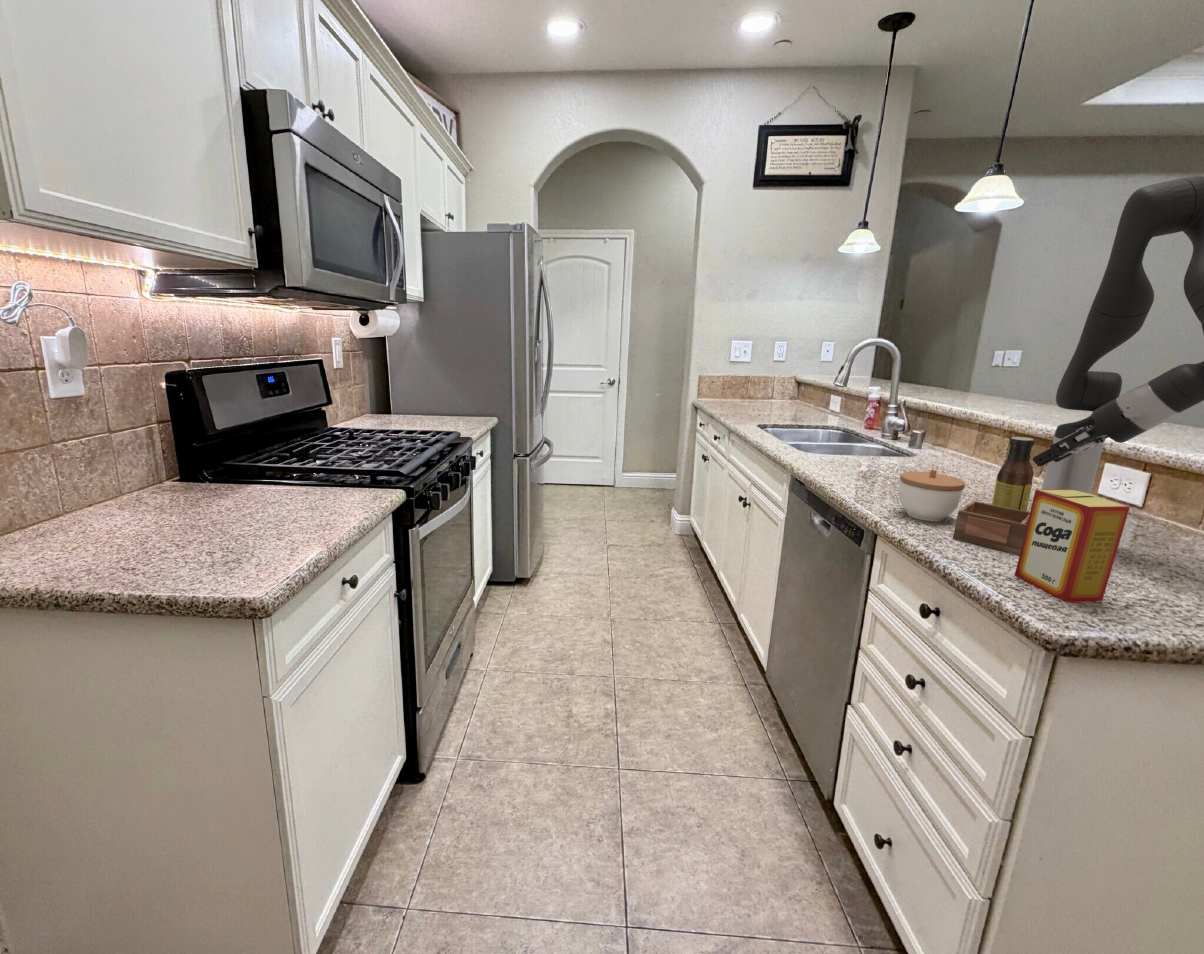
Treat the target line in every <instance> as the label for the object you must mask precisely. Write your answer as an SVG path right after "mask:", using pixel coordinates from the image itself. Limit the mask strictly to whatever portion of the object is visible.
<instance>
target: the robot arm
mask: <svg viewBox="0 0 1204 954" xmlns="http://www.w3.org/2000/svg"><path fill="white" fill-rule="evenodd" d="M1122 209H1123V210H1122V212H1121V215H1120V218H1119V221H1118V225H1117V227H1116V233H1115V237H1114V241H1113V243H1112V248H1111V251H1110V255H1109V258H1108V262H1107V265H1106V268H1105V271H1104V273H1103V276H1102V279H1101V281H1100V285H1099V287H1098V289H1097V291H1096V294H1095V296H1094V299H1093V301H1092V304H1091V306H1090V309H1089V311H1088V313H1087V318H1086V320H1085V322H1084V323H1085V324H1084V325H1083V330H1082V332H1081V334H1080V337H1079V341H1078V344H1077V346H1076V348H1075V351H1074V353H1073V355H1072V356H1071V359H1070V361H1069V362H1068V366H1067V368H1066V369H1065V371H1064V374H1063V376H1062V378H1061V379H1060V382H1059V384H1058V387H1057V391H1056V394H1055V401H1056V405H1057V406H1058V408H1061V409H1065V410H1070V411H1072V410H1073V411H1083V412H1084V411H1085V412H1091V414H1090V415H1089V416H1087V417H1086V418H1084V419H1083V418H1082V419H1080V420H1077V421H1072V422H1067V423H1062V424H1059V425H1058V426H1057V427H1056V430H1055V432H1054V437H1053V441H1052V444H1051V445H1050V446H1049V447H1050V448H1047V449H1046V450H1044V451H1042V452H1041V453H1039V454H1037V455H1036V456H1033V457H1032V461H1033V462H1034V464H1036V466H1037V467H1039V468H1040V467H1043V466H1045V465H1047V466H1046V470H1045V473H1044V474H1045V475H1044V478H1043V480H1042V481H1043V482H1042V485H1041V489H1040V490H1044V489H1071V490H1076V491H1080V492H1084V493H1089V494H1092V490H1093V485H1094V481H1095V478H1096V474H1097V471H1098V467H1099V463H1100V460H1101V456H1102V451H1103V449H1104V444H1105V441H1106V440H1107V439H1108V438H1109V439H1111V440H1112V441H1114V442H1115V443H1119V444H1120V443H1121V444H1122V443H1123V444H1124V443H1125V442H1127V441H1129V440H1132V439H1134V438H1135V437H1138V436H1139V435H1142V434H1143V433H1146V432H1147V431H1150V430H1152V429H1154V428H1156V427H1157V426H1159V425H1162V424H1164V423H1165V422H1167V421H1169V420H1171V418H1173V417H1175V416H1177V415H1178V414H1179V413H1182V412H1184V411H1186V410H1188V409H1190V408H1192V407H1194V406H1195V405H1198V404H1200V403H1202V402H1204V360H1203V361H1201V362H1198V363H1184V364H1183V363H1182V364H1180V365H1176V366H1175V367H1173V368H1171V369H1169V370H1166V372H1163V373H1162V374H1160V375H1158V376H1156V377H1155V378H1152V379H1151V380H1149V381H1147V382H1145V383H1143V384H1140V385H1138V386H1137V387H1134V388H1132V389H1130V390H1128V391H1127V392H1125V393H1123V394H1121V391H1122V386H1123V377H1122V376H1121V374H1120V373H1118V372H1115V371H1114V372H1113V371H1098V370H1097V371H1094V370H1090V369H1091V368H1092V367H1093V366H1094V364H1096V362H1098V361H1099V360H1100V359H1101V358H1103V357H1104V356H1106V355H1108V354H1109V353H1111V352H1112V351H1113V350H1115V349H1116V348H1118V347H1120V346H1121V345H1123V344H1124V343H1126V342H1127V341H1129V340H1130V339H1131V338H1132V337H1134V336H1135V335H1136V334H1137V333H1138V332H1139V331H1140V330H1141V328H1142V327H1143V326H1144V324H1145V321H1146V319H1147V317H1148V315H1149V313H1150V311H1151V308H1152V306H1153V304H1154V300H1155V292H1154V288H1153V285H1152V283H1151V281H1150V280H1149V276H1147V273H1146V271H1145V268H1144V265H1143V260H1144V256H1145V253H1146V250H1147V247H1148V245H1149V243H1150V241H1151V240H1152V239H1153V238H1154V237H1160V236H1165V235H1171V234H1175V233H1181V232H1183V233H1184V234H1185V235H1186V236H1187V237H1188V239H1189V240H1190V242H1191V244H1192V255H1191V258H1190V261H1189V264H1188V266H1187V269H1186V271H1185V274H1184V278H1183V291H1184V295H1185V297H1186V299H1187V302H1188V304H1189V305H1190V307H1191V309H1192V311H1193V314H1195V316H1196V318H1197V319H1198V321H1199V322H1200V324H1201V329H1202V333H1203V334H1202V335H1204V176H1202V175H1193V176H1192V175H1191V176H1186V177H1181V178H1176V179H1170V180H1167V181H1166V180H1165V181H1163V182H1158V183H1152V184H1149V185H1146V186H1142V187H1140V188H1138V189H1136V190H1135V191H1134V192H1133V193H1132V194H1131V195H1130V196H1129V197H1128V199H1127V201H1126V203H1125V205H1124V207H1123V208H1122ZM1120 394H1121V395H1120Z"/></svg>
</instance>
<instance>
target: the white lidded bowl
mask: <svg viewBox="0 0 1204 954" xmlns="http://www.w3.org/2000/svg"><path fill="white" fill-rule="evenodd" d="M937 471H938V470H937V469H934V468H933V469H932V468H931V469H930V471H929V472H928V471H905V472H902V473H900V477H899V479H900V480H899V485H898V497H899V498H898V499H899V502H900V503H901V506H902V507H903V509H904V510H905V511H906V513H907V515H908V516H909V517H911V518H913V519H917V520H920V521H921V520H922V521H926V522H942V521H943V520H944V519H945V518H947V517H949V516H950V515H952V514H953V513H954V512H955V510H956V509H957V508H958V506H959V505H960V502H961V499H962V495H963V493H964V492H963V491H964V489H965V486H966V483H965V481H963V480H962V479H960V478H957V477H956V476H951V475H947V474H941V473H937Z"/></svg>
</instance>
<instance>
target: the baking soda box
mask: <svg viewBox="0 0 1204 954" xmlns="http://www.w3.org/2000/svg"><path fill="white" fill-rule="evenodd" d="M1130 509H1131V507H1130V506H1127V505H1125V504H1121V503H1117V502H1115V501H1111V500H1108V499H1104V498H1101V497H1098V496H1097V494H1092V493H1090V494H1089V493H1084V492H1080V491H1076V490H1071V489H1044V490H1041V489H1035V491H1034V494H1033V499H1032V503H1031V507H1030V511H1029V512H1030V515H1029V519H1028V523H1027V527H1026V531H1025V535H1024V539H1023V543H1022V547H1021V551H1020V555H1018V560H1017V565H1016V568H1015V572H1014V577H1016V578H1018V579H1020V580H1021V581H1023V582H1025V583H1028V584H1030V585H1032V586H1033V585H1034V586H1033V587H1035V588H1037V589H1039V590H1041V591H1043V592H1045V593H1046V594H1049V595H1051V596H1053V597H1054V598H1056V599H1058V600H1060V601H1062V602H1065V603H1079V602H1084V601H1085V602H1102V601H1104V600H1103V599H1104V596H1105V593H1106V589H1107V586H1108V583H1109V579H1110V576H1111V571H1112V569H1113V566H1114V562H1115V559H1116V555H1117V551H1118V549H1119V546H1120V542H1121V539H1122V534H1123V532H1124V529H1125V524H1126V522H1127V518H1128V514H1129V511H1130Z"/></svg>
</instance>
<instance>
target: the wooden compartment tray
mask: <svg viewBox="0 0 1204 954" xmlns="http://www.w3.org/2000/svg"><path fill="white" fill-rule="evenodd" d="M1029 515H1030V511H1027V512H1026V511H1021V510H1016V509H1011V508H1006V507H1001V506H996V505H992V503H985V502H982V501H981V502H980V501H976V500H972V501H970V502H969V503H967V504H965V506H963V507H961V508H960V509H959V510H958V512H957V516H956V522H955V526H954V531H953V536H952V539H954V538H955V539H954V540H958V541H962V542H966V543H969V544H970V543H971V544H974V545H978V546H983V547H986V548H991V549H995V550H999V551H1003V552H1006V553H1010V554H1015V555H1018V556H1020V551H1021V547H1022V543H1023V539H1024V535H1025V531H1026V527H1027V523H1028V519H1029Z"/></svg>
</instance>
